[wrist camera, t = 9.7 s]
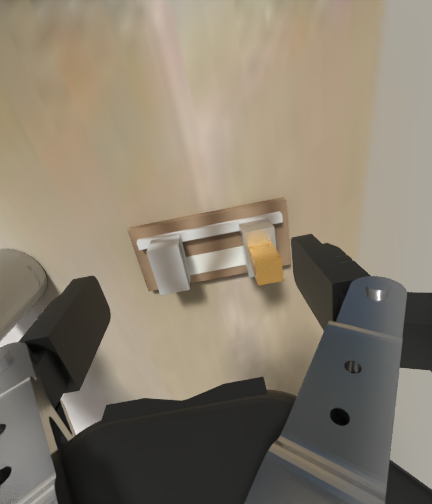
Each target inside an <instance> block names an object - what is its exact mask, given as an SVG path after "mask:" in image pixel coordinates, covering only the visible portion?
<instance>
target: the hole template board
mask: <svg viewBox="0 0 432 504" xmlns="http://www.w3.org/2000/svg"><path fill="white" fill-rule="evenodd" d="M263 219H269V220H270V222H271V223H272V224H273V226H274V229H275V239H276V249H277V251H278V253H279V255H280V256H281V258H282V266H284V265H289V264H291V257H290V244H289V231H288V218H287V205H286V200H285V199H284V198H278V199H272V200H267V201H262V202H257V203H252V204H247V205H242V206H237V207H232V208H227V209H222V210H217V211H212V212H206V213H201V214H196V215H191V216H186V217H181V218H176V219H171V220H166V221H161V222H156V223H151V224H146V225H140V226H135V227H130V229H129V230H128V233H129V236H130V239H131V241H132V244H133V247H134V250H135V253H136V256H137V259H138V262H139V265H140V268H141V270H142V273H143V276H144V279H145V282H146V285H147V288H148V291H153V290H159V293H160V295H165V294H171V293H176V292H181V291H186V290H190V283H195V282H200V281H206V280H211V279H216V278H221V277H226V276H232V275H237V274H242V273H247V270H246V267H245V261H244V255H243V249H242V243H241V236H240V230H239V224H242V223H248V222H253V221H258V220H263Z"/></svg>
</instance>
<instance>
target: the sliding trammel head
mask: <svg viewBox="0 0 432 504" xmlns="http://www.w3.org/2000/svg"><path fill="white" fill-rule="evenodd" d="M239 230H240V236H241V243H242V249H243V255H244V261H245V267H246V270H247V273H248V276H249V278H250V277H255V279H256V281H257V284H258V286H259V285H264V284H269V283H275V282H280V281H284V279H283V268H282V258H281V256H280V255H279V253H278V251H277V249H276V239H275V229H274V226H273V224H272V223H271V222H270V220H269V219H263V220H258V221H253V222H248V223H242V224H239Z"/></svg>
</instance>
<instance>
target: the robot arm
mask: <svg viewBox="0 0 432 504" xmlns="http://www.w3.org/2000/svg"><path fill="white" fill-rule="evenodd" d="M291 248H292V261H293V274H294V279H295V282H296V285H297V287H298V289H299V290H300V292H301V294H302V295H303V297H304V299H305V300H306V302H307V304H308V305H309V307H310V309H311V310H312V312H313V314H314V315H315V317H316V319H317V320H318V322H319V323H320V325H321V327H322V328H323V330H324V333H323V335H322V338H321V340H320V342H319V345H318V347H317V350H316V352H315V354H314V357H313V359H312V362H311V364H310V366H309V369H308V371H307V374H306V376H305V378H304V381H303V383H302V386H301V388H300V390H299V393H298V395H297V396H295V395H292V394H289V393H286V392H281V391H276V390H266V386H265V382H264V378H263V377H259V378H254V379H248V380H242V381H237V382H231V383H226V384H223V385H220V386H218V387H216V388H213V389H211V390H208V391H206V392H204V393H201V394H199V395H197V396H194V397H192V398H190V399H187V400H183V401H177V400H163V399H148V398H143V399H138V400H132V401H127V402H121V403H116V404H110V405H106V408H105V411H104V414H103V418H102V420H101V421H99V422H97V423H95V424H93V425H91V426H89V427H88V428H86V429H85V430H83V431H81V432H80V433H78V434H77V435H76V434H75V432H74V429H73V426H72V424H71V421H70V419H69V416H68V413H67V411H66V408H65V406H64V404H63V402H62V401H61V397H62V395H63V393H68V392H74V391H79V390H80V388H81V386H82V384H83V381H84V379H85V377H86V374H87V372H88V370H89V368H90V365H91V363H92V361H93V359H94V356H95V354H96V352H97V349H98V347H99V345H100V343H101V340H102V338H103V336H104V334H105V331H106V329H107V327H108V325H109V322H110V316H111V315H110V308H109V305H108V303H107V301H106V298H105V296H104V294H103V291H102V289H101V287H100V285H99V282H98V280H97V279H96V277H95V276H88V277H83V278H78V279H73V280H72V281H71V283H70V284H69V285H68V286H67V288H66V289H65V290H64V291H63V293H62V294H61V295H60V296H58V297H57V298H56V299H54V300H53V301H52V302H51V303H50V304H49V305H48V306H47V308H46V309H45V310H44V313H42V314H41V315H40V316H39V317H38V320H36V321H35V322H34V324H33V325H32V326H31V327H30V328H29V330H28V331H27V332H26V333H25V335H24V336H23V337H22V338H21V340H20V341H19V342H16V343H11V344H8V345H5V346H3V347H1V348H0V504H432V489H430V488H428V487H427V486H426V485H425V484H423V483H422V482H420V481H419V480H418V479H416V478H415V477H413V476H412V475H411V474H409V473H408V472H407V471H405V470H404V469H402V468H401V467H400V466H398V465H397V464H395V463H394V462H393V461H391V460H390V451H391V442H392V433H393V423H394V414H395V405H396V396H397V387H398V378H399V368H410V369H422V370H431V372H432V293H412V292H407V291H406V289H405V288H404V286H403V285H401V284H400V283H398V282H396V281H394V280H391V279H389V278H385V277H378V276H370V275H369V274H368V273H367V272H366V271H365V270H364V269H362V268H361V267H360V266H359V265H358V264H357V263H356V262H355V261H352V259H351V258H350V257H349V256H348V255H346V253H344V252H343V251H342V250H341V249H340V248H339V247H336V246H334V245H331V244H329V243H325V244H322V243H321V242H320V241H319V240H317V239H316V238H315V237H314V236H313V235H312V234H308V235H303V236H297V237H292V240H291ZM46 288H47V277H46V274H45V272H44V270H43V269H42V267H41V266H40V265H39V263H38V262H37V261H36V260H34V259H33V258H32V257H30V256H28V255H26V254H25V253H22V252H19V251H16V250H11V249H0V342H1V340H2V339H3V338H4V337H5V336H6V335H7V334H8V333H9V332H10V330H11V329H12V328H13V327H14V326H15V325H16V324H17V323H18V322H19V320H20V319H21V318H22V317H23V316H24V315H25V314H26V313H27V312H28V310H29V309H30V308H31V307H32V306H33V305H34V304H35V303H36V302H37V300H38V299H39V298H40V297H41V296H42V295H43V294H44V292H45V290H46Z"/></svg>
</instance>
